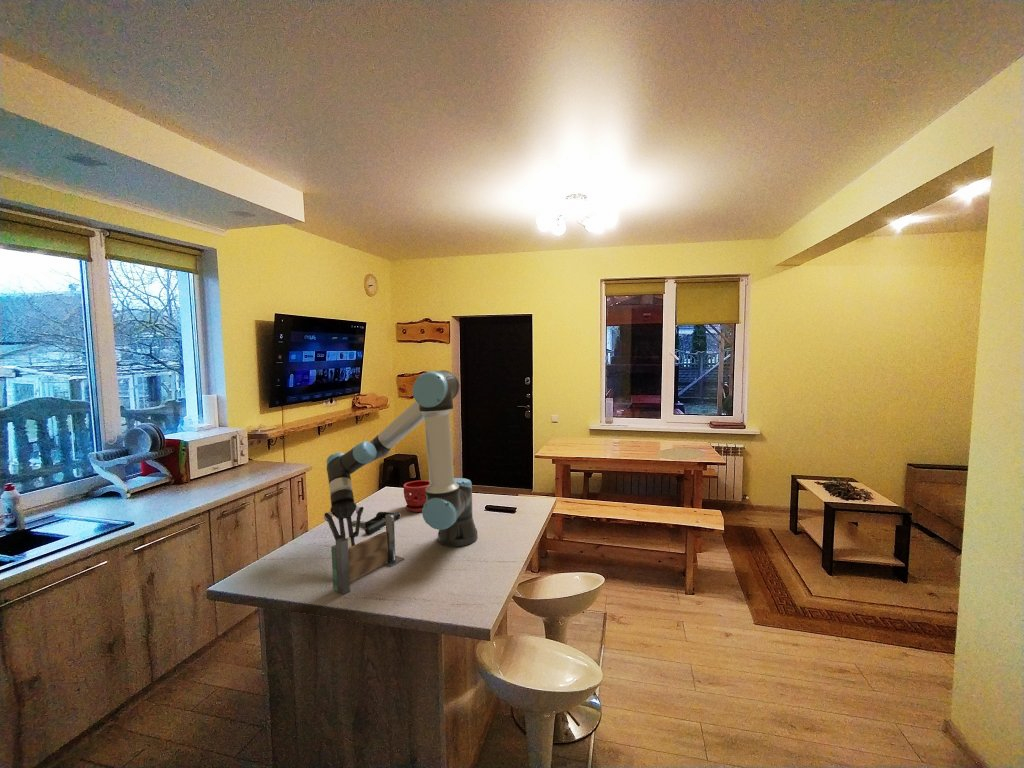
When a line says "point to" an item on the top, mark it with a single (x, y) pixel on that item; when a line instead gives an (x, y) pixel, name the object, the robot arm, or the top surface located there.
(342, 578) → the post
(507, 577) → the top surface
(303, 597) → the top surface
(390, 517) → the hinge post
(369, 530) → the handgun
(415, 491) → the plant pot
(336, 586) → the wooden board
